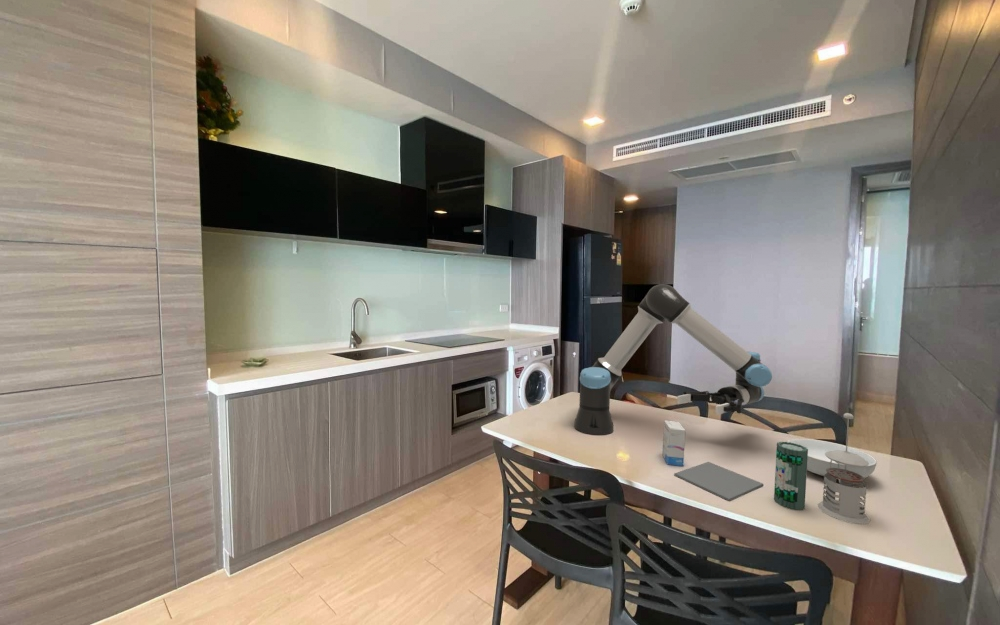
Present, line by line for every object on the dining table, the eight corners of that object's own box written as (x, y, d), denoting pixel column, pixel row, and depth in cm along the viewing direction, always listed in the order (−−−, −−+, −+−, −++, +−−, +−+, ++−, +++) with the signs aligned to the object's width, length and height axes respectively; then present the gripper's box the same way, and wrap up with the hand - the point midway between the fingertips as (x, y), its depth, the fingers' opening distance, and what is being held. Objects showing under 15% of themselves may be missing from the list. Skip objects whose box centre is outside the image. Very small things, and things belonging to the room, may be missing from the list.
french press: (825, 517, 93) (831, 416, 91) (809, 495, 103) (814, 403, 102) (878, 528, 89) (885, 422, 87) (856, 503, 99) (861, 408, 98)
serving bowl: (862, 467, 121) (863, 446, 120) (886, 497, 103) (888, 472, 102) (781, 452, 131) (782, 433, 131) (790, 477, 113) (791, 454, 113)
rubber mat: (674, 475, 113) (674, 473, 113) (708, 463, 122) (708, 461, 122) (729, 501, 99) (729, 499, 99) (763, 485, 108) (763, 483, 108)
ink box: (684, 466, 119) (686, 429, 118) (667, 465, 120) (668, 428, 119) (677, 455, 127) (679, 420, 127) (661, 454, 128) (662, 419, 128)
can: (768, 497, 102) (771, 441, 101) (790, 496, 102) (793, 441, 101) (787, 510, 96) (790, 451, 95) (810, 509, 96) (813, 451, 95)
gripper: (770, 416, 128) (734, 427, 117) (699, 398, 150) (663, 406, 139) (770, 394, 128) (735, 403, 117) (699, 379, 149) (664, 386, 139)
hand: (696, 404), depth 128 cm, fingers open, 13 cm apart
